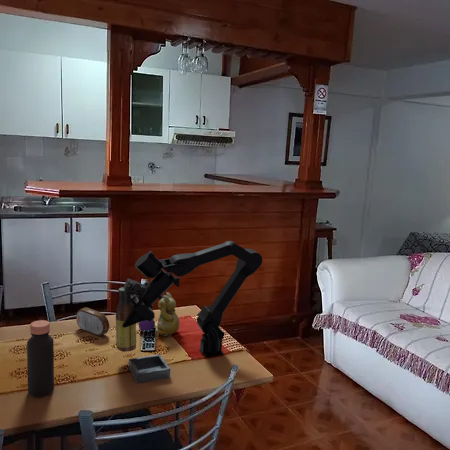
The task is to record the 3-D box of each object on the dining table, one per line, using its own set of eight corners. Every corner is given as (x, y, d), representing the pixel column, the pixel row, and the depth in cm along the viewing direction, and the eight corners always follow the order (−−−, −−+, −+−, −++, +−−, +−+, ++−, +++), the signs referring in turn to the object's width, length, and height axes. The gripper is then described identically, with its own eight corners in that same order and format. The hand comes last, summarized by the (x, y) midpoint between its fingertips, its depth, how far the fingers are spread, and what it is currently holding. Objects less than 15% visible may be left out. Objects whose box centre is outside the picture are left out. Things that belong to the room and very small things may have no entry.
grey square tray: (159, 363, 150) (160, 354, 150) (170, 377, 141) (170, 368, 141) (128, 368, 146) (128, 359, 146) (137, 383, 137) (137, 374, 137)
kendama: (146, 305, 190) (158, 319, 172) (143, 319, 191) (154, 335, 172) (131, 303, 188) (142, 318, 170) (128, 318, 188) (139, 334, 170)
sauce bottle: (131, 343, 154) (132, 284, 151) (139, 350, 148) (140, 289, 146) (112, 347, 150) (112, 287, 147) (119, 354, 145) (120, 292, 142)
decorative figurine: (159, 327, 179) (161, 289, 176) (181, 328, 178) (182, 291, 176) (154, 337, 169) (155, 297, 167) (176, 339, 169) (178, 299, 166)
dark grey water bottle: (28, 399, 126) (26, 329, 122) (27, 387, 132) (26, 320, 128) (54, 395, 129) (54, 326, 125) (53, 383, 135) (52, 317, 131)
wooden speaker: (109, 336, 168) (110, 314, 167) (103, 339, 166) (103, 316, 164) (81, 325, 176) (81, 304, 175) (74, 328, 173) (74, 306, 172)
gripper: (134, 263, 155) (100, 297, 153) (144, 279, 138) (106, 318, 136) (157, 284, 159) (124, 317, 157) (170, 303, 142) (133, 340, 140)
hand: (121, 322), depth 148 cm, fingers closed on sauce bottle, 6 cm apart
